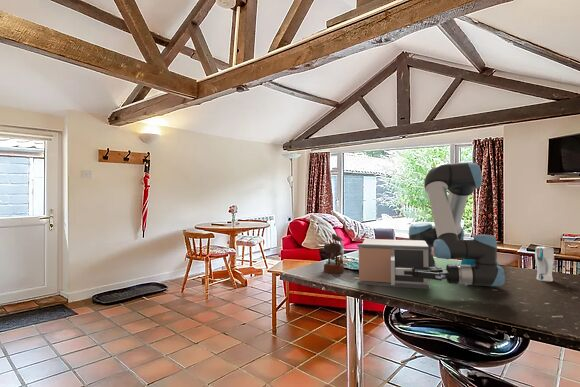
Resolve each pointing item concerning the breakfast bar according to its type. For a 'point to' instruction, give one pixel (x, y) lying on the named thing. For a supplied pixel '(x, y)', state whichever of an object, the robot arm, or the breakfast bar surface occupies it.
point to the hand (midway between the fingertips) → (395, 271)
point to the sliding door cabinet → (402, 260)
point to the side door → (376, 265)
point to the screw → (342, 252)
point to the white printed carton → (544, 263)
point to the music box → (333, 248)
